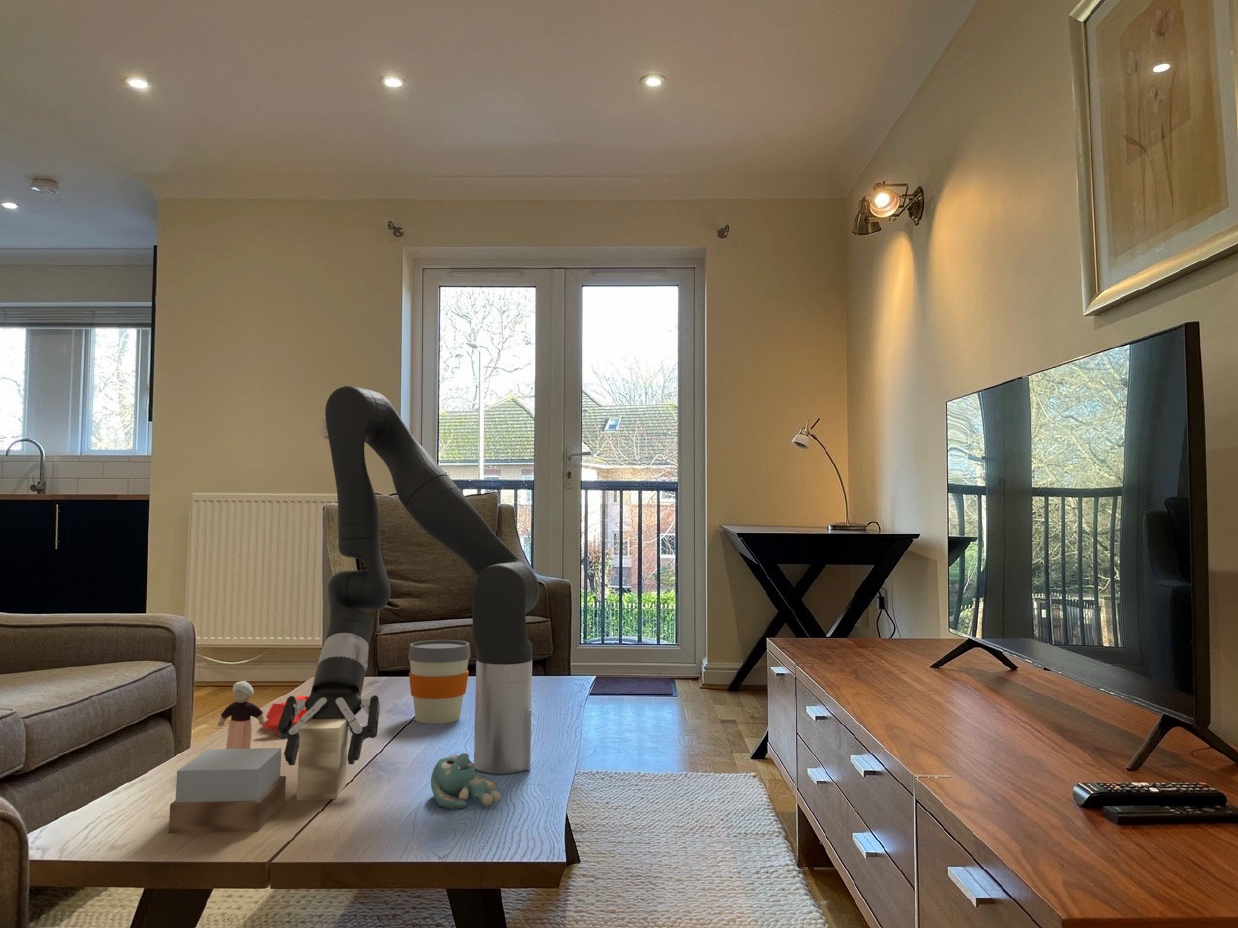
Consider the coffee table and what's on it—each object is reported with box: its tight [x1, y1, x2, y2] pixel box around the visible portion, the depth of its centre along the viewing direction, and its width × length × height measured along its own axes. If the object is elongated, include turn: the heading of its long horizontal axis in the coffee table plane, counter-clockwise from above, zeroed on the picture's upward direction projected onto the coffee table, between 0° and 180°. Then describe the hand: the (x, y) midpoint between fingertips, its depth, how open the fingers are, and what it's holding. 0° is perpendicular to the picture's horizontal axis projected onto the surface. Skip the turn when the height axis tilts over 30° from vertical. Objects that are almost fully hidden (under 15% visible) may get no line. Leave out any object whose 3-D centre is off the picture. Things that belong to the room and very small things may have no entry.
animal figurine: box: [261, 694, 310, 733], centre depth 155 cm, size 12×15×5 cm
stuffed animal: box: [430, 752, 501, 810], centre depth 116 cm, size 11×7×12 cm
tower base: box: [168, 775, 287, 834], centre depth 108 cm, size 11×11×4 cm
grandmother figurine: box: [217, 680, 267, 749], centre depth 135 cm, size 8×4×13 cm, turn 105°
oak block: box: [296, 719, 349, 801], centre depth 118 cm, size 6×6×10 cm
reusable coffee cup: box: [407, 639, 471, 725], centre depth 164 cm, size 13×13×15 cm
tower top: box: [174, 747, 282, 803], centre depth 108 cm, size 10×10×4 cm
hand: (320, 762), depth 117 cm, fingers open, 8 cm apart
